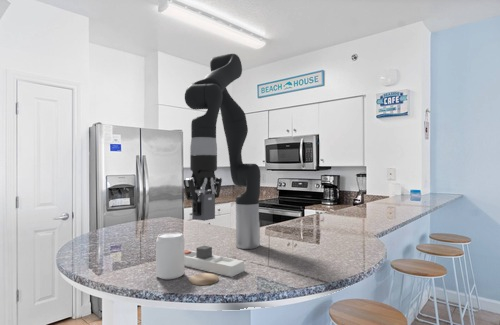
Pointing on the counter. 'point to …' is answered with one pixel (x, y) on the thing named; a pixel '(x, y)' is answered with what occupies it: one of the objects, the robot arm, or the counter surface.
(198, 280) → the coaster
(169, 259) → the beverage can
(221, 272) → the power strip
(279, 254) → the counter surface
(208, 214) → the block
